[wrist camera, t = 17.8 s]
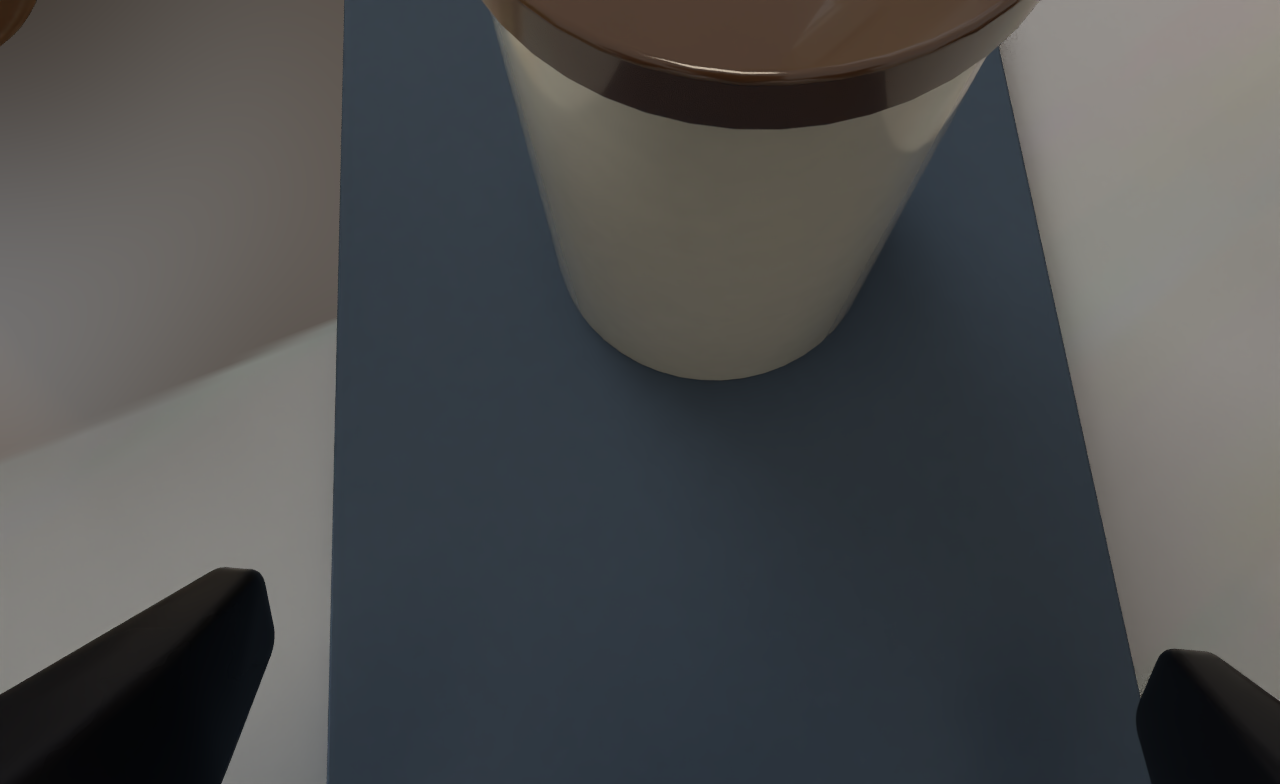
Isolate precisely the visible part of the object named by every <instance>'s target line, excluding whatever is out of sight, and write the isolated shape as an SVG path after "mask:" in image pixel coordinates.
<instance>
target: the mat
mask: <svg viewBox="0 0 1280 784" xmlns="http://www.w3.org/2000/svg"><path fill="white" fill-rule="evenodd" d="M342 90H343V91H342V132H341V177H340V221H339V224H340V225H339V266H338V310H337V354H336V398H335V443H334V487H333V531H332V576H331V620H330V664H329V709H328V753H327V784H1151V781H1150V777H1149V774H1148V770H1147V766H1146V763H1145V759H1144V756H1143V752H1142V749H1141V745H1140V741H1139V738H1138V734H1137V729H1136V711H1137V707H1138V704H1139V701H1140V694H1139V689H1138V685H1137V680H1136V676H1135V671H1134V666H1133V662H1132V657H1131V653H1130V648H1129V643H1128V639H1127V634H1126V630H1125V625H1124V620H1123V616H1122V611H1121V607H1120V602H1119V597H1118V593H1117V588H1116V584H1115V579H1114V574H1113V570H1112V565H1111V561H1110V556H1109V551H1108V547H1107V542H1106V538H1105V533H1104V528H1103V524H1102V519H1101V515H1100V510H1099V505H1098V501H1097V496H1096V492H1095V487H1094V483H1093V478H1092V473H1091V469H1090V464H1089V460H1088V455H1087V450H1086V446H1085V441H1084V437H1083V432H1082V427H1081V423H1080V418H1079V414H1078V409H1077V404H1076V400H1075V395H1074V391H1073V386H1072V381H1071V377H1070V372H1069V368H1068V363H1067V358H1066V354H1065V349H1064V345H1063V340H1062V335H1061V331H1060V326H1059V322H1058V317H1057V312H1056V308H1055V303H1054V299H1053V294H1052V289H1051V285H1050V280H1049V276H1048V271H1047V266H1046V262H1045V257H1044V253H1043V248H1042V243H1041V239H1040V234H1039V230H1038V225H1037V220H1036V216H1035V211H1034V207H1033V202H1032V197H1031V193H1030V188H1029V184H1028V179H1027V174H1026V170H1025V165H1024V161H1023V156H1022V151H1021V147H1020V142H1019V138H1018V133H1017V129H1016V124H1015V119H1014V115H1013V110H1012V106H1011V101H1010V96H1009V92H1008V87H1007V83H1006V78H1005V73H1004V69H1003V64H1002V60H1001V55H1000V50H999V46H998V47H996V48H995V49H994V50H993V51H992V52H991V53H990V54H989V55H988V56H987V57H986V59H985V61H984V63H983V64H982V66H981V68H980V70H979V72H978V74H977V76H976V77H975V79H974V81H973V83H972V85H971V87H970V88H969V90H968V92H967V94H966V96H965V98H964V100H963V101H962V103H961V105H960V107H959V109H958V111H957V113H956V114H955V116H954V118H953V120H952V122H951V124H950V125H949V127H948V129H947V131H946V133H945V135H944V137H943V138H942V140H941V142H940V144H939V146H938V148H937V150H936V151H935V153H934V155H933V157H932V159H931V161H930V162H929V164H928V166H927V168H926V170H925V172H924V174H923V175H922V177H921V179H920V181H919V183H918V185H917V187H916V188H915V190H914V192H913V194H912V196H911V198H910V199H909V201H908V203H907V205H906V207H905V209H904V211H903V212H902V214H901V216H900V218H899V220H898V222H897V224H896V225H895V227H894V229H893V231H892V233H891V235H890V236H889V238H888V240H887V242H886V244H885V246H884V248H883V249H882V251H881V253H880V255H879V257H878V259H877V261H876V262H875V264H874V266H873V268H872V270H871V272H870V273H869V275H868V277H867V279H866V281H865V283H864V285H863V286H862V288H861V290H860V292H859V294H858V296H857V298H856V299H855V301H854V303H853V304H852V306H851V308H850V309H849V311H848V313H847V314H846V316H845V317H844V318H843V319H842V321H841V322H840V323H839V324H838V326H837V327H836V328H835V329H834V331H832V332H831V333H830V334H829V335H828V336H827V337H826V338H825V339H824V340H823V341H822V342H821V343H820V344H819V345H817V346H816V347H814V348H813V349H812V350H810V351H809V352H807V353H806V354H805V355H803V356H802V357H800V358H798V359H796V360H794V361H792V362H790V363H788V364H787V365H785V366H782V367H780V368H777V369H774V370H772V371H769V372H766V373H763V374H759V375H755V376H750V377H746V378H740V379H731V380H697V379H690V378H683V377H678V376H674V375H670V374H667V373H663V372H660V371H657V370H654V369H652V368H650V367H647V366H645V365H642V364H640V363H638V362H636V361H635V360H633V359H631V358H629V357H628V356H626V355H624V354H622V353H621V352H619V351H618V350H617V349H616V348H614V347H613V346H612V345H610V344H609V343H608V342H606V341H605V340H604V339H603V338H602V337H601V336H600V335H599V334H598V333H597V332H596V331H595V330H594V329H593V328H592V327H591V326H590V325H589V324H588V322H587V321H586V320H585V318H584V317H583V316H582V314H581V313H580V312H579V310H578V309H577V307H576V305H575V303H574V302H573V300H572V298H571V296H570V294H569V293H568V290H567V287H566V285H565V282H564V280H563V277H562V274H561V271H560V267H559V263H558V260H557V256H556V252H555V249H554V245H553V241H552V238H551V234H550V230H549V227H548V223H547V219H546V216H545V212H544V208H543V205H542V201H541V197H540V194H539V190H538V186H537V183H536V179H535V175H534V172H533V168H532V164H531V161H530V157H529V153H528V150H527V146H526V142H525V139H524V135H523V131H522V127H521V124H520V120H519V116H518V113H517V109H516V105H515V102H514V98H513V94H512V91H511V87H510V83H509V80H508V76H507V72H506V69H505V65H504V61H503V58H502V54H501V50H500V47H499V43H498V39H497V36H496V32H495V28H494V25H493V21H492V17H491V14H490V10H489V9H488V8H487V6H486V5H485V4H484V3H483V2H482V0H344V43H343V89H342Z"/></svg>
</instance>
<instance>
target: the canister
mask: <svg viewBox="0 0 1280 784" xmlns="http://www.w3.org/2000/svg"><path fill="white" fill-rule="evenodd" d="M1039 1H1040V0H482V2H483V3H484V4H485V5H486V6H487V8H488V9H489V10H490V14H491V17H492V21H493V25H494V28H495V32H496V36H497V39H498V43H499V47H500V50H501V54H502V58H503V61H504V65H505V69H506V72H507V76H508V80H509V83H510V87H511V91H512V94H513V98H514V102H515V105H516V109H517V113H518V116H519V120H520V124H521V127H522V131H523V135H524V139H525V142H526V146H527V150H528V153H529V157H530V161H531V164H532V168H533V172H534V175H535V179H536V183H537V186H538V190H539V194H540V197H541V201H542V205H543V208H544V212H545V216H546V219H547V223H548V227H549V230H550V234H551V238H552V241H553V245H554V249H555V252H556V256H557V260H558V263H559V267H560V271H561V274H562V277H563V280H564V282H565V285H566V287H567V290H568V293H569V294H570V296H571V298H572V300H573V302H574V303H575V305H576V307H577V309H578V310H579V312H580V313H581V314H582V316H583V317H584V318H585V320H586V321H587V322H588V324H589V325H590V326H591V327H592V328H593V329H594V330H595V331H596V332H597V333H598V334H599V335H600V336H601V337H602V338H603V339H604V340H605V341H606V342H608V343H609V344H610V345H612V346H613V347H614V348H616V349H617V350H618V351H619V352H621V353H622V354H624V355H626V356H628V357H629V358H631V359H633V360H635V361H636V362H638V363H640V364H642V365H645V366H647V367H650V368H652V369H654V370H657V371H660V372H663V373H667V374H670V375H674V376H678V377H683V378H690V379H697V380H731V379H740V378H746V377H750V376H755V375H759V374H763V373H766V372H769V371H772V370H774V369H777V368H780V367H782V366H785V365H787V364H788V363H790V362H792V361H794V360H796V359H798V358H800V357H802V356H803V355H805V354H806V353H807V352H809V351H810V350H812V349H813V348H814V347H816V346H817V345H819V344H820V343H821V342H822V341H823V340H824V339H825V338H826V337H827V336H828V335H829V334H830V333H831V332H832V331H834V329H835V328H836V327H837V326H838V324H839V323H840V322H841V321H842V319H843V318H844V317H845V316H846V314H847V313H848V311H849V309H850V308H851V306H852V304H853V303H854V301H855V299H856V298H857V296H858V294H859V292H860V290H861V288H862V286H863V285H864V283H865V281H866V279H867V277H868V275H869V273H870V272H871V270H872V268H873V266H874V264H875V262H876V261H877V259H878V257H879V255H880V253H881V251H882V249H883V248H884V246H885V244H886V242H887V240H888V238H889V236H890V235H891V233H892V231H893V229H894V227H895V225H896V224H897V222H898V220H899V218H900V216H901V214H902V212H903V211H904V209H905V207H906V205H907V203H908V201H909V199H910V198H911V196H912V194H913V192H914V190H915V188H916V187H917V185H918V183H919V181H920V179H921V177H922V175H923V174H924V172H925V170H926V168H927V166H928V164H929V162H930V161H931V159H932V157H933V155H934V153H935V151H936V150H937V148H938V146H939V144H940V142H941V140H942V138H943V137H944V135H945V133H946V131H947V129H948V127H949V125H950V124H951V122H952V120H953V118H954V116H955V114H956V113H957V111H958V109H959V107H960V105H961V103H962V101H963V100H964V98H965V96H966V94H967V92H968V90H969V88H970V87H971V85H972V83H973V81H974V79H975V77H976V76H977V74H978V72H979V70H980V68H981V66H982V64H983V63H984V61H985V59H986V57H987V56H988V55H989V54H990V53H991V52H992V51H993V50H994V49H995V48H996V47H998V46H999V45H1000V44H1001V43H1002V42H1003V41H1004V40H1005V39H1006V38H1007V37H1008V36H1010V35H1011V34H1012V33H1013V32H1014V31H1015V30H1016V29H1017V28H1018V27H1019V26H1020V25H1021V23H1022V22H1023V21H1024V20H1025V18H1026V17H1027V16H1028V15H1029V14H1030V12H1031V11H1032V10H1033V9H1034V7H1035V6H1036V5H1037V4H1038V3H1039Z"/></svg>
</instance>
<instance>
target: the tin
mask: <svg viewBox="0 0 1280 784" xmlns="http://www.w3.org/2000/svg"><path fill="white" fill-rule="evenodd" d="M36 1H37V0H0V46H1V45H2V44H3V43H5V42H6V41H7V40H8V39H10V38H11V37H12V36H13V35H14V34H15V33H16V32H17V31H18V30H19V29H20V28H21V26H22V25H23V23H24V22H25V21H26V19H27V18H28V16H29V15H30V13H31V11H32V9H33V7H34V5H35V3H36Z"/></svg>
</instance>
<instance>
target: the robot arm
mask: <svg viewBox="0 0 1280 784" xmlns="http://www.w3.org/2000/svg"><path fill="white" fill-rule="evenodd" d="M273 645H274V625H273V620H272V615H271V610H270V605H269V600H268V596H267V591H266V586H265V582H264V579H263V577H262V575H261V574H260V573H259V572H258V571H255V570H252V569H240V568H229V567H223V568H217V569H215V570H213V571H211V572H209V573H207V574H206V575H204V576H202V577H201V578H199V579H197V580H195V581H194V582H192V583H190V584H189V585H187V586H185V587H183V588H182V589H180V590H178V591H177V592H175V593H173V594H171V595H170V596H168V597H166V598H165V599H163V600H161V601H160V602H158V603H156V604H154V605H153V606H151V607H149V608H148V609H146V610H144V611H142V612H141V613H139V614H137V615H136V616H134V617H132V618H130V619H129V620H127V621H125V622H124V623H122V624H120V625H118V626H117V627H115V628H113V629H112V630H110V631H108V632H107V633H105V634H103V635H101V636H100V637H98V638H96V639H95V640H93V641H91V642H89V643H88V644H86V645H84V646H83V647H81V648H79V649H77V650H76V651H74V652H72V653H71V654H69V655H67V656H65V657H64V658H62V659H60V660H59V661H57V662H55V663H54V664H52V665H50V666H48V667H47V668H45V669H43V670H42V671H40V672H38V673H36V674H35V675H33V676H31V677H30V678H28V679H26V680H24V681H23V682H21V683H19V684H18V685H16V686H14V687H12V688H11V689H9V690H7V691H6V692H4V693H2V694H1V695H0V784H221V783H222V781H223V778H224V776H225V773H226V771H227V768H228V766H229V763H230V761H231V758H232V755H233V753H234V750H235V748H236V745H237V742H238V740H239V737H240V735H241V732H242V729H243V727H244V724H245V721H246V719H247V716H248V714H249V711H250V708H251V706H252V703H253V701H254V698H255V695H256V693H257V690H258V688H259V685H260V682H261V680H262V677H263V674H264V672H265V669H266V667H267V664H268V661H269V659H270V656H271V653H272V650H273ZM1136 729H1137V734H1138V738H1139V741H1140V745H1141V749H1142V752H1143V756H1144V759H1145V763H1146V766H1147V770H1148V774H1149V777H1150V781H1151V784H1280V701H1279V700H1277V699H1276V698H1274V697H1273V696H1272V695H1270V694H1269V693H1268V692H1266V691H1265V690H1263V689H1262V688H1261V687H1259V686H1258V685H1256V684H1255V683H1254V682H1252V681H1251V680H1250V679H1248V678H1247V677H1245V676H1244V675H1243V674H1241V673H1240V672H1239V671H1237V670H1236V669H1234V668H1233V667H1232V666H1230V665H1229V664H1228V663H1226V662H1225V661H1223V660H1222V659H1221V658H1219V657H1218V656H1216V655H1214V654H1212V653H1209V652H1205V651H1195V650H1184V649H1169V650H1166V651H1164V652H1163V653H1162V654H1161V655H1160V656H1159V658H1158V660H1157V662H1156V664H1155V667H1154V669H1153V671H1152V674H1151V676H1150V678H1149V680H1148V683H1147V685H1146V687H1145V690H1144V692H1143V694H1142V697H1141V699H1140V701H1139V704H1138V707H1137V711H1136Z"/></svg>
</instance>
